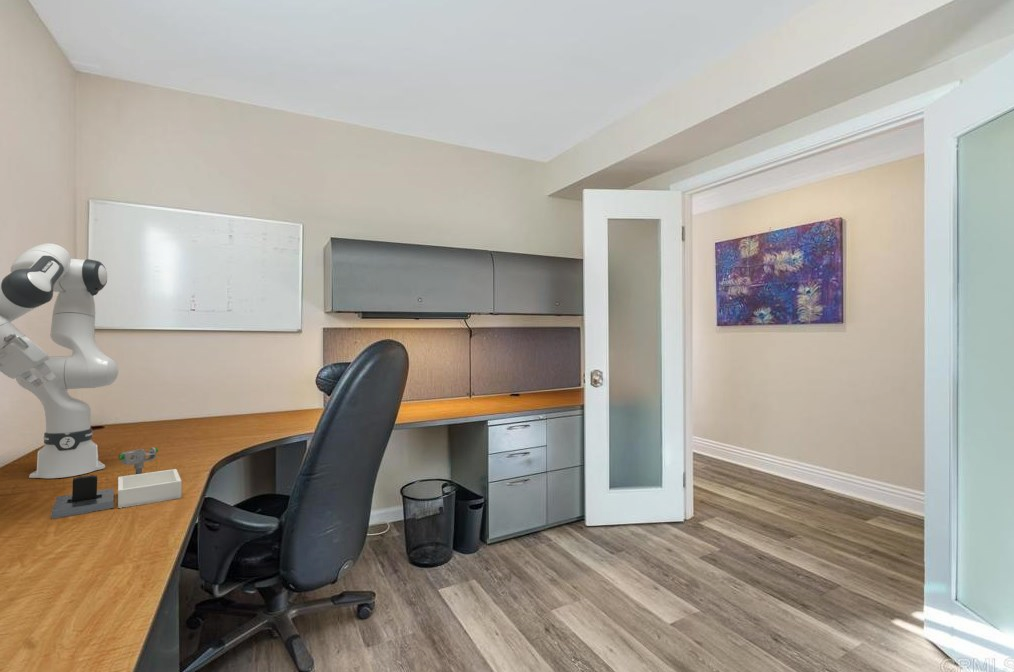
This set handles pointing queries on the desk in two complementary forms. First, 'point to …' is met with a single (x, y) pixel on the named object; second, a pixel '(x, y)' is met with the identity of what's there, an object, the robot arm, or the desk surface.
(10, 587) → the desk surface
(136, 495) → the tray
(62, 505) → the plate
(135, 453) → the mechanical component
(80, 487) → the ink cartridge
